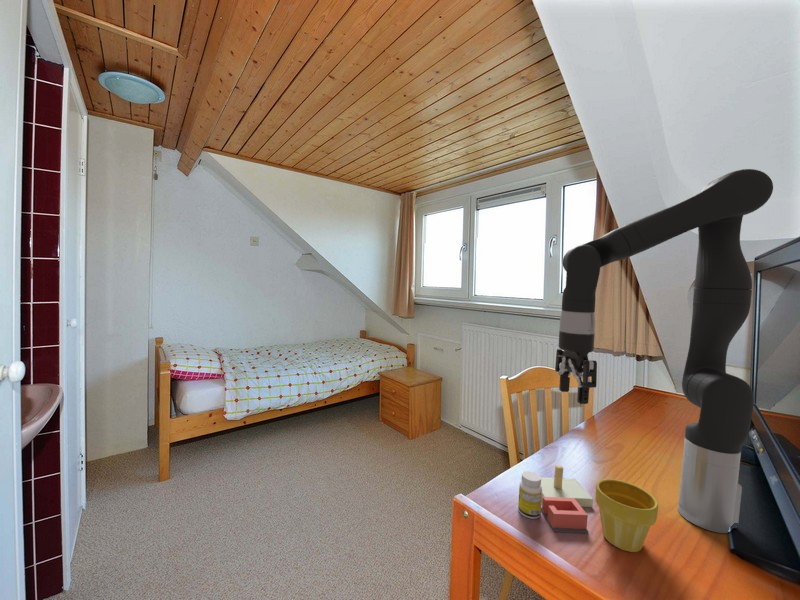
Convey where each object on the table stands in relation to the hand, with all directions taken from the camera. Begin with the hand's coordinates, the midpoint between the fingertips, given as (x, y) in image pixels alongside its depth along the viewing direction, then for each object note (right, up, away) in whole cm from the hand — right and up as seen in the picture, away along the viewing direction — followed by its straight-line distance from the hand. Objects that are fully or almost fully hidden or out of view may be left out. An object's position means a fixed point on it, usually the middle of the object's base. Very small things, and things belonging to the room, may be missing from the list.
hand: (572, 397), depth 84 cm
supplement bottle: (-13, -24, -7) cm, 28 cm away
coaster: (-7, -24, -9) cm, 27 cm away
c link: (-7, -24, -9) cm, 26 cm away
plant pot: (+3, -25, -14) cm, 29 cm away
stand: (-3, -24, 0) cm, 24 cm away
